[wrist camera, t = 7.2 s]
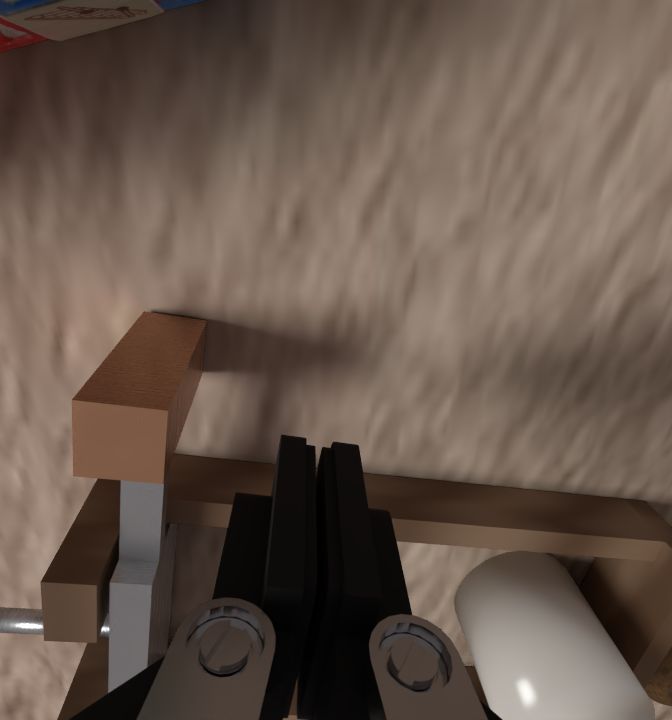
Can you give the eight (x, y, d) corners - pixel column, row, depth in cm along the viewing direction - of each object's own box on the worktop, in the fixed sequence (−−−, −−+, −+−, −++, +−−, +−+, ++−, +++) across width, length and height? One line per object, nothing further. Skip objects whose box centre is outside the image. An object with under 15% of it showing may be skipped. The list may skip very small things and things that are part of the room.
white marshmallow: (586, 554, 23) (681, 685, 17) (545, 637, 25) (617, 778, 19) (473, 545, 22) (535, 680, 17) (440, 632, 24) (486, 778, 19)
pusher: (206, 320, 17) (168, 410, 11) (176, 652, 23) (142, 816, 17) (-11, 289, 16) (-173, 372, 10) (19, 646, 22) (-70, 818, 16)
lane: (645, 501, 22) (740, 597, 17) (549, 683, 26) (604, 796, 22) (100, 447, 18) (38, 549, 14) (99, 667, 23) (53, 799, 18)
